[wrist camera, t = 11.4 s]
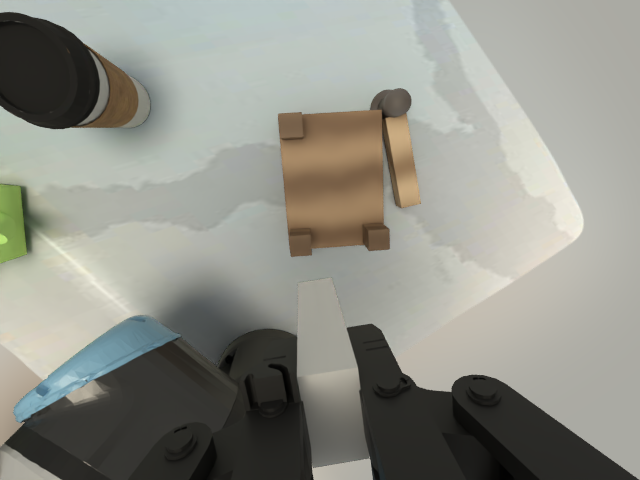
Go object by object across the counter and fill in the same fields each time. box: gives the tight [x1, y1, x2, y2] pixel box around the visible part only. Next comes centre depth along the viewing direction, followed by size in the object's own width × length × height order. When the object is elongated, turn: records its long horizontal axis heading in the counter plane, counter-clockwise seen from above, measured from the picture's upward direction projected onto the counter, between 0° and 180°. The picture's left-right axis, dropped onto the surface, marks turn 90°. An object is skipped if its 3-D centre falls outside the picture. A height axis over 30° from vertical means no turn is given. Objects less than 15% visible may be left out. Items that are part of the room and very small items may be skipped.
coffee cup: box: [0, 12, 150, 129], centre depth 32 cm, size 8×8×15 cm
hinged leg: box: [378, 88, 421, 208], centre depth 40 cm, size 14×3×4 cm, turn 13°
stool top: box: [278, 90, 393, 257], centre depth 39 cm, size 19×16×8 cm
